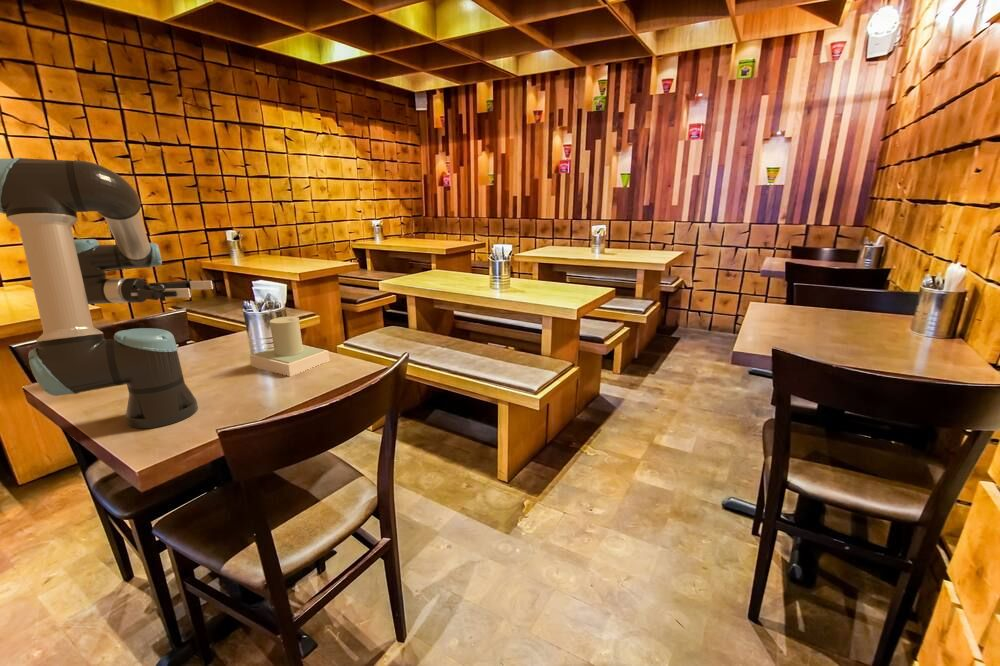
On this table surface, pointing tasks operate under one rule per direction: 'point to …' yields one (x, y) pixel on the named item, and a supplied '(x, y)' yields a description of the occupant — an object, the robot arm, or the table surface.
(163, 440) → the table surface
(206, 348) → the table surface
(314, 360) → the block
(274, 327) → the can
